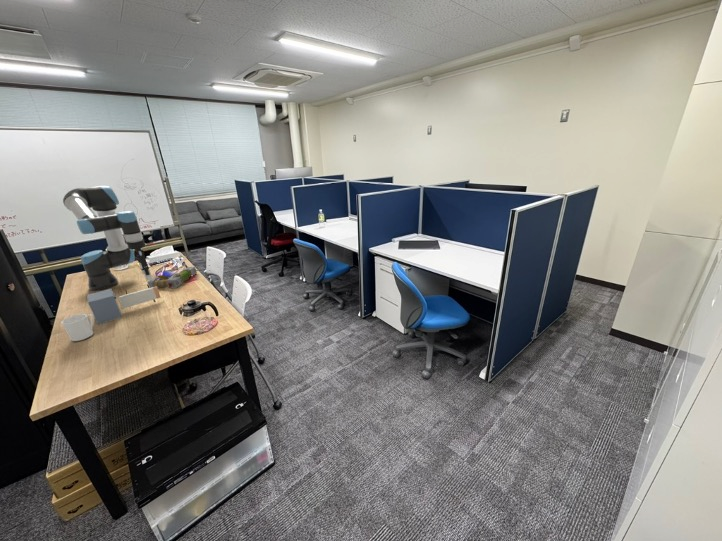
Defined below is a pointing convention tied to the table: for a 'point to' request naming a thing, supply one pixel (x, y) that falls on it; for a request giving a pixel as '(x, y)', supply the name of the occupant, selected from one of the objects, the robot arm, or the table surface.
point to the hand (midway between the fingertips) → (147, 276)
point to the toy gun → (172, 279)
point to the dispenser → (104, 306)
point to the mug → (78, 327)
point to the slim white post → (139, 297)
